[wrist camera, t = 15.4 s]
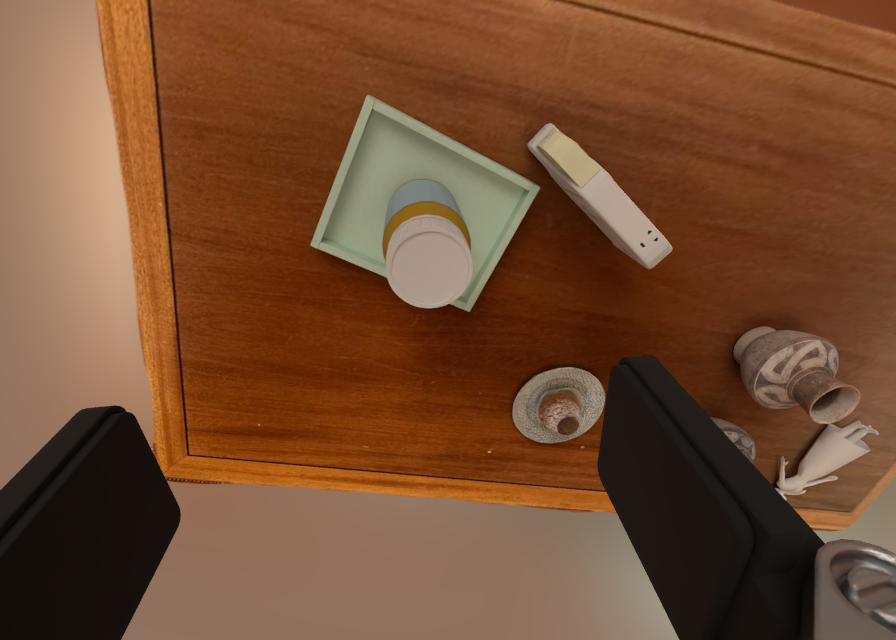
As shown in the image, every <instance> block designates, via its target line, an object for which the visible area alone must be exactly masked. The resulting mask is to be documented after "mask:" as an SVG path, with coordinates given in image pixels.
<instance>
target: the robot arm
mask: <svg viewBox="0 0 896 640" xmlns="http://www.w3.org/2000/svg"><path fill="white" fill-rule="evenodd" d="M598 472H599V476H600V479H601V482H602V484H603V486H604V488H605V490H606V492H607V494H608V496H609V498H610V500H611V502H612V504H613V506H614V508H615V510H616V512H617V514H618V516H619V518H620V520H621V522H622V524H623V526H624V528H625V530H626V532H627V534H628V536H629V539H630V541H631V543H632V545H633V547H634V549H635V551H636V553H637V555H638V557H639V559H640V561H641V563H642V565H643V567H644V569H645V571H646V573H647V575H648V577H649V579H650V581H651V583H652V585H653V587H654V589H655V591H656V593H657V595H658V597H659V599H660V601H661V603H662V605H663V607H664V609H665V611H666V613H667V615H668V618H669V620H670V621H671V624H672V625H673V628H674V629H675V632H676V634H677V636H678V638H679V639H680V640H896V554H894V553H893V552H891V551H888V550H886V549H884V548H882V547H879V546H876V545H872V544H869V543H865V542H862V541H855V540H843V539H840V540H836V541H831V542H827V543H826V544H825V543H824V542H823V541H822V540H821V539H820V538H819V537H818V536H817V534H816V533H815V532H814V531H813V530H812V529H811V527H810V526H809V525H808V524H807V523H806V522H805V521H804V520H803V519H802V518H801V517H800V515H799V514H798V513H797V512H796V511H795V510H794V509H793V508H792V507H791V506H790V504H789V503H788V502H787V501H786V500H785V499H784V498H783V497H782V496H781V495H780V494H779V492H778V491H777V490H776V489H775V488H774V487H773V486H772V485H771V484H770V483H769V481H768V480H767V479H766V478H765V477H764V476H763V475H762V474H761V473H760V472H759V471H758V469H757V468H756V467H755V466H754V465H753V464H752V463H751V462H750V461H749V460H748V458H747V457H746V456H745V455H744V454H743V453H742V452H741V451H740V450H739V449H738V447H737V446H736V445H735V444H734V443H733V442H732V441H731V440H730V439H729V438H728V437H727V435H726V434H725V433H724V432H723V431H722V430H721V429H720V428H719V427H718V426H717V424H716V423H715V422H714V421H713V420H712V419H711V418H710V417H709V416H708V415H707V414H706V412H705V411H704V410H703V409H702V408H701V407H700V406H699V405H698V404H697V403H696V401H695V400H694V399H693V398H692V397H691V396H690V395H689V394H688V393H687V392H686V391H685V389H684V388H683V387H682V386H681V385H680V384H679V383H678V382H677V381H676V380H675V378H674V377H673V376H672V375H671V374H670V373H669V372H668V371H667V370H666V369H665V368H664V366H663V365H662V364H661V363H660V362H659V361H658V360H657V359H656V358H655V357H654V356H652V355H643V356H633V357H623V358H621V360H620V361H619V364H618V365H614V366H612V368H611V371H610V378H609V385H608V392H607V399H606V406H605V414H604V421H603V428H602V435H601V442H600V450H599V457H598ZM180 515H181V514H180V508H179V505H178V504H177V501H176V499H175V497H174V495H173V493H172V491H171V489H170V487H169V485H168V483H167V481H166V479H165V477H164V475H163V473H162V471H161V469H160V466H159V464H158V462H157V460H156V458H155V456H154V454H153V452H152V450H151V448H150V446H149V444H148V442H147V440H146V438H145V436H144V434H143V432H142V430H141V428H140V426H139V423H138V422H137V419H136V418H135V416H134V415H133V414H132V413H129V412H126V410H125V409H124V408H122V407H120V406H106V407H95V408H86V409H83V410H81V411H79V412H78V413H76V414H75V416H73V417H72V419H71V420H70V421H69V422H68V423H67V424H66V425H65V426H64V427H63V428H62V429H61V430H60V431H59V432H58V433H57V434H56V435H55V436H54V437H53V438H52V439H51V440H50V441H49V442H48V443H47V444H46V445H45V446H44V447H43V448H42V449H41V450H40V451H39V452H38V453H37V454H36V455H35V456H34V457H33V458H32V459H31V460H30V461H29V462H28V463H27V464H26V465H25V466H24V467H23V468H22V469H21V470H20V471H19V472H18V473H17V474H16V475H15V476H14V477H13V478H12V479H11V480H10V481H9V482H8V483H7V484H6V485H5V486H4V487H3V488H2V489H1V490H0V640H121V639H122V636H123V635H124V633H125V631H126V629H127V627H128V625H129V623H130V621H131V619H132V617H133V615H134V613H135V611H136V609H137V607H138V605H139V603H140V601H141V599H142V597H143V595H144V593H145V591H146V589H147V587H148V585H149V583H150V581H151V579H152V577H153V576H154V574H155V571H156V570H157V568H158V566H159V564H160V562H161V560H162V558H163V556H164V554H165V552H166V550H167V548H168V546H169V544H170V542H171V540H172V538H173V536H174V534H175V532H176V530H177V528H178V525H179V523H180Z"/></svg>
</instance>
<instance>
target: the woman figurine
mask: <svg viewBox="0 0 896 640" xmlns="http://www.w3.org/2000/svg"><path fill="white" fill-rule="evenodd" d="M860 423H861V422H860V421H859V420H857V421H855V422H853V423H852V424H850V425H848V426H846V427H844V428H840V427H837V426H835V425H833V424H829V425H828V426H827V427H826V428H825V429H824V431H823V432H822V433H821V434H820V435H819V436H818V438H817V439H816V440H815V441H814V443H813V444H812V445H811V447H810V448H809V450H808V451H807V453H806V454H805V455H804V457H803V458H802V460H801V461H800V463H799V466H798V474H797V475H795V476H793V477H791V478H786V479H785V471H784V465H786V464H787V463H788V462H784V460H785V459H783V457H781V467H780V473H779V474H780V477H779V480H778V481H777V482H776V483H777V485H778V486H779V488H780V489H778V488H775V489H776V490H777V491H778V492H779V494H780V495H781V496H782V497H783V498H784V499H785V500H786V497H785V496H784V494H786V495H787V494H788V495H799V494H803V493H805V492H806V490H804V491H802V490H803V488H804V487H808V486H812V485H816V484H819V483H823V482H826V481H833V480H837V479H838V477H836V476H834V475H833V476H834V477H833V476H830V477H826V478H824V479H820V480H815V479H817V478H820V477H822V476H824V475H827V474H829V473H830V472H832V471H834V470H836V469H838V468H840V467H842V466H843V465H845V464H847V463H849V462H851V461H853V460H854V459H856V458H858V457H860V456H862V455H864V454H865V453H867V452H869V451H871V449H870V448H869V447H868V446H867V444H866V443H864V442H863V441H862V440H860V438H862V437H863V436H864V435H866V434H867V433H874V434H876V435H877V436H878V434H879V433H878V432H877V431H876V430H874V429H872V426H870V425H868V426H865V425H862V424H860ZM857 428H860V430H858V431H856V432H854V433H852V432H853V431H854V430H856V429H857ZM835 478H836V479H835ZM812 480H813V481H812ZM814 480H815V481H814ZM801 491H802V492H801ZM792 492H795V493H792Z"/></svg>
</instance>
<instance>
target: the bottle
mask: <svg viewBox="0 0 896 640" xmlns="http://www.w3.org/2000/svg"><path fill="white" fill-rule="evenodd" d="M382 247H383V256H384V259H385V261H386V263H385V264H386V265H385V269H386V274H387V278H388V282H389V284H390V286H391V288H392V289H393V291H394V292H395V293H396V294H397V295H398V296H399V297H400V298H401V299H402V300H404V301H405V302H407V303H409V304H411V305H413V306H416V307H421V308H437V307H441V306H445V305H447V304H449V303H451V302H453V301H454V300H456V299H457V298H458V297H460V296H461V295H462V294H463V292H464V291H465V290H466V288H467V287H468V285H469V283H470V280H471V278H472V274H473V258H472V254H471V239H470V234H469V232H468V229H467V226H466V223H465V221H464V219H463V216H462V214H461V212H460V209H459V207H458V204H457V202H456V200H455V198H454V196H453V195H452V194H451V192H450V191H449V190H448V189H447V188H446V187H445V186H443V185H442V184H440V183H439V182H437V181H433V180H430V179H414V180H411V181H409V182H406V183H404V184H403V185H401V186H400V187H399V188H398V189H397V190H396V191H395V192H394V193H393V195H392V197H391V198H390V200H389V203H388V207H387V211H386V218H385V225H384V232H383V239H382Z"/></svg>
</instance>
